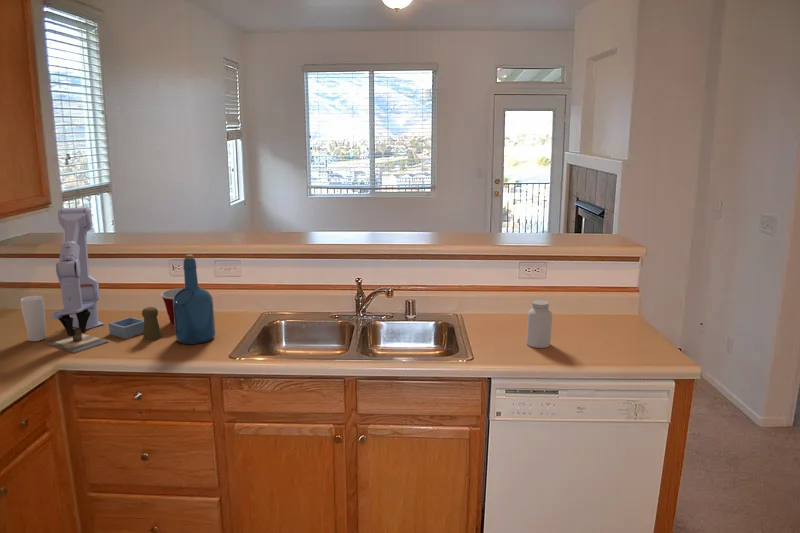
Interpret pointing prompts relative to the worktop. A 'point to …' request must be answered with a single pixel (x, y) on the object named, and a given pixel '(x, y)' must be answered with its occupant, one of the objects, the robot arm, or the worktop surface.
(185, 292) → the wine bottle
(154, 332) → the olive green shaker
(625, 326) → the worktop surface
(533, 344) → the pill bottle
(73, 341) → the lid
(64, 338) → the mat
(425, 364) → the worktop surface
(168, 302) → the plastic cup
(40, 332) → the drinking glass
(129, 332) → the dish
